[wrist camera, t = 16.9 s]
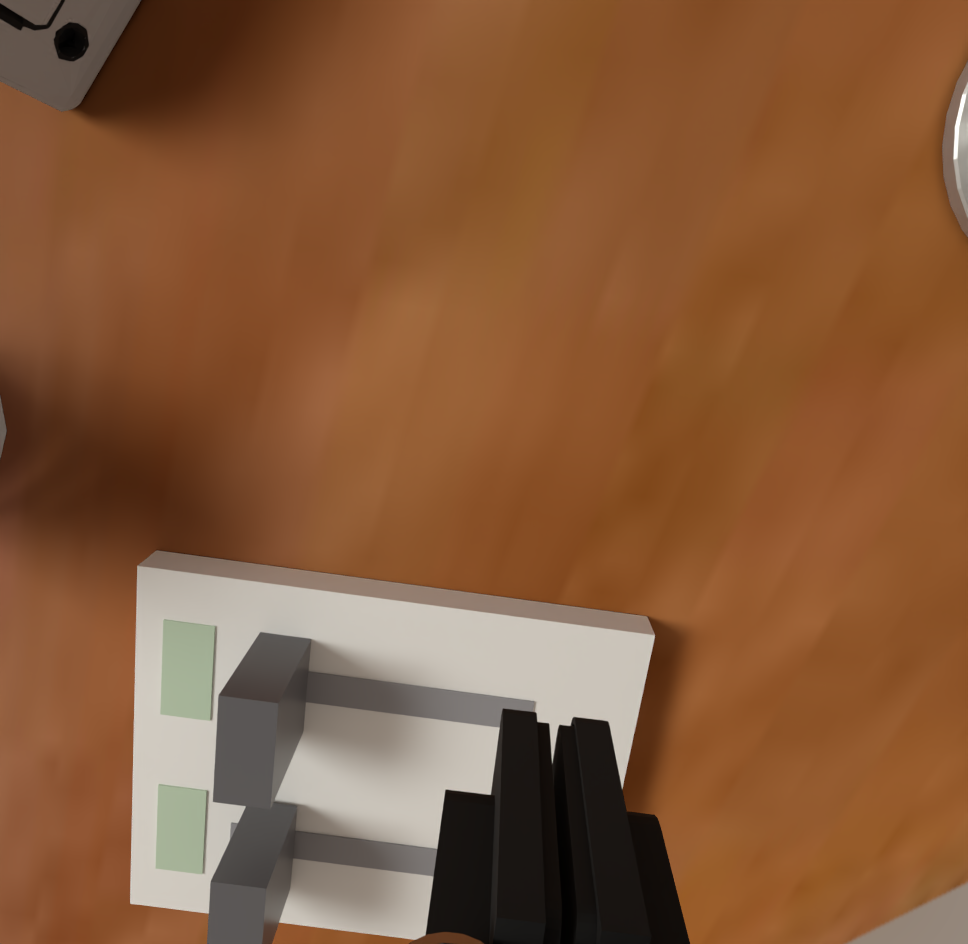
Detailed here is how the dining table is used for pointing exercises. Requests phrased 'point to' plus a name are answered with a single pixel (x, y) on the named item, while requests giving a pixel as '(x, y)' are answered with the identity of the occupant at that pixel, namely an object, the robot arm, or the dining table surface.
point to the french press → (2, 428)
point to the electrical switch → (58, 45)
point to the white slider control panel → (343, 722)
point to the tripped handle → (253, 877)
